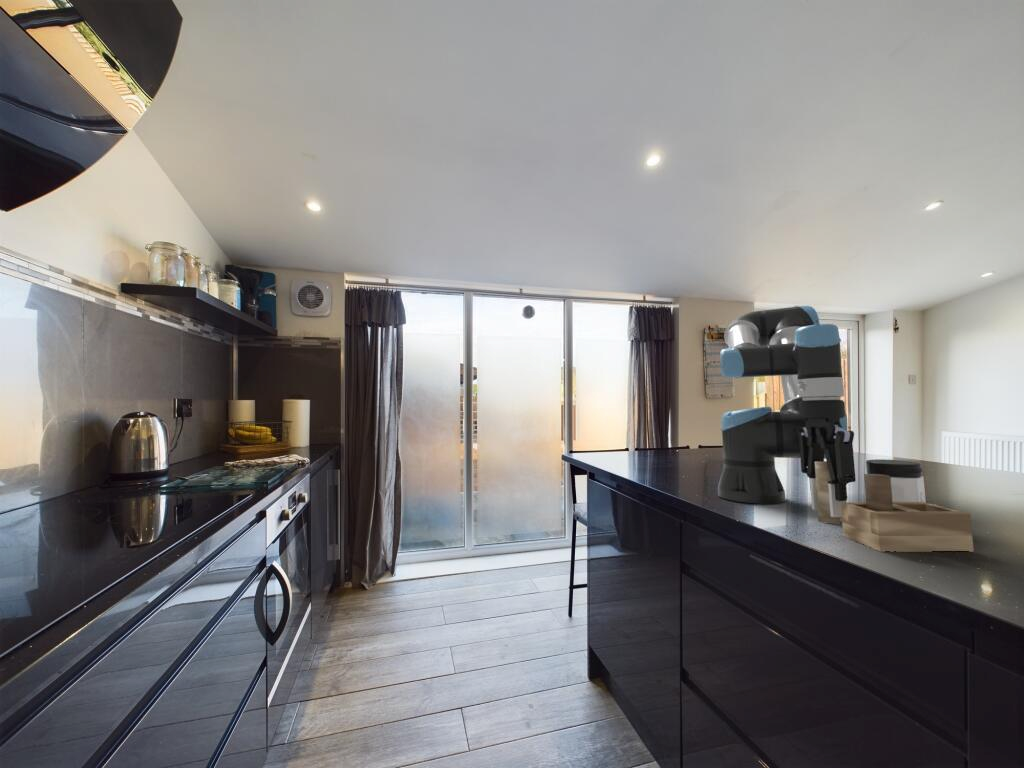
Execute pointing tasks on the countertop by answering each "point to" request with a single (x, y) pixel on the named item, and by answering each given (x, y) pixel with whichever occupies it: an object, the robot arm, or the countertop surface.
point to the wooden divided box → (908, 527)
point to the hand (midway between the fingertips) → (829, 512)
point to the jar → (901, 478)
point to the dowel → (824, 493)
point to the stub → (878, 492)
